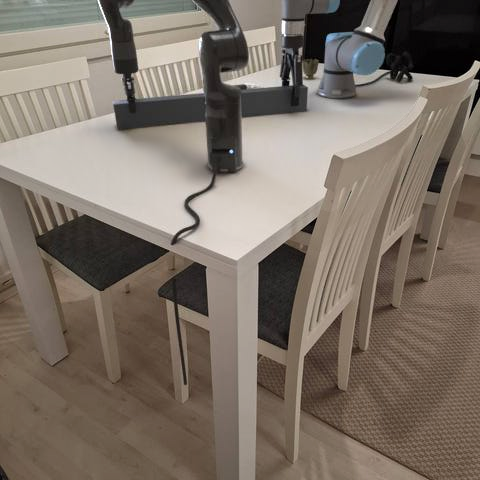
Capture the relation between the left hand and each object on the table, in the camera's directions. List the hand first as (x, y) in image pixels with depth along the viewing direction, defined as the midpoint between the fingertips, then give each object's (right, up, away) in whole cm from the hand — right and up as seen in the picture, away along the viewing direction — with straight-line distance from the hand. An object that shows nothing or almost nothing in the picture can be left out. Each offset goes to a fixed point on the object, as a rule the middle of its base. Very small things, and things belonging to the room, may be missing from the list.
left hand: (132, 110), depth 148 cm
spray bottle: (+34, +18, +37) cm, 53 cm away
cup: (+68, +31, +58) cm, 95 cm away
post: (+27, 0, +9) cm, 28 cm away
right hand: (+54, +7, +13) cm, 56 cm away
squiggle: (+108, +29, +52) cm, 123 cm away
